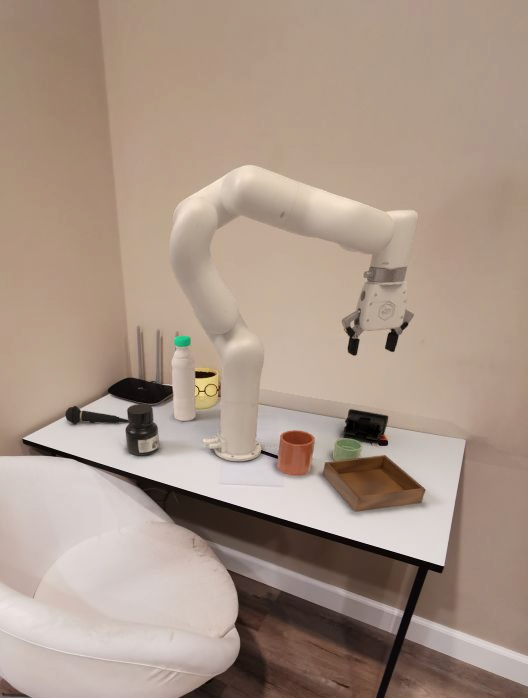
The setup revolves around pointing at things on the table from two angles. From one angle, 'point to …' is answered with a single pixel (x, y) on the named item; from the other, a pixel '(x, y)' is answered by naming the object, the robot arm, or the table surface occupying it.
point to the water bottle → (183, 380)
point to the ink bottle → (141, 430)
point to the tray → (373, 483)
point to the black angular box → (365, 426)
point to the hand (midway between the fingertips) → (370, 352)
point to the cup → (295, 452)
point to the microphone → (90, 416)
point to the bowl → (346, 449)
